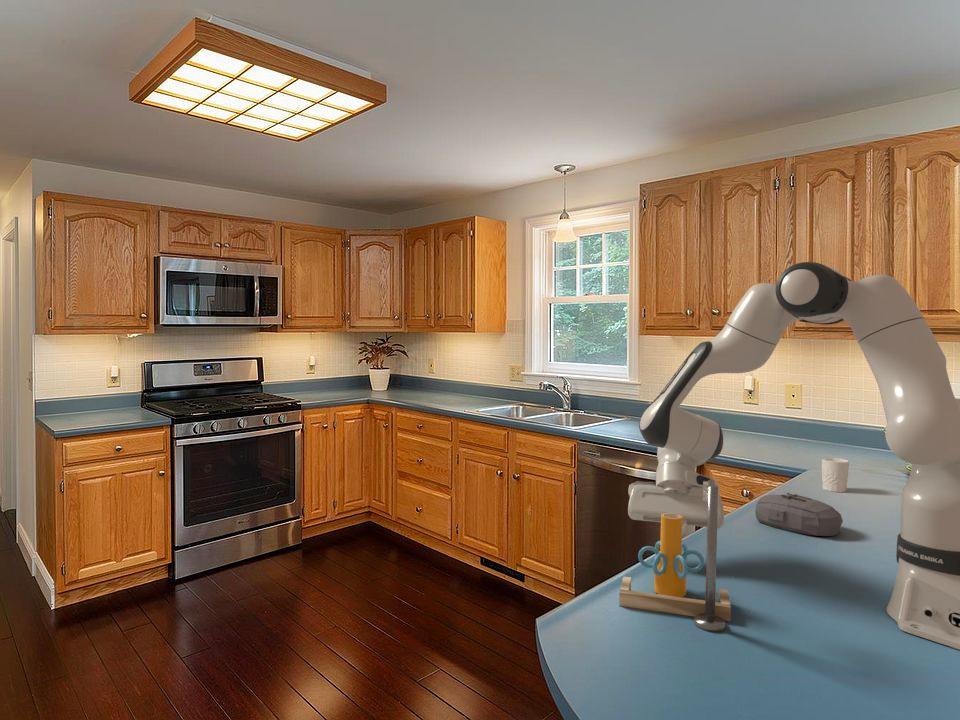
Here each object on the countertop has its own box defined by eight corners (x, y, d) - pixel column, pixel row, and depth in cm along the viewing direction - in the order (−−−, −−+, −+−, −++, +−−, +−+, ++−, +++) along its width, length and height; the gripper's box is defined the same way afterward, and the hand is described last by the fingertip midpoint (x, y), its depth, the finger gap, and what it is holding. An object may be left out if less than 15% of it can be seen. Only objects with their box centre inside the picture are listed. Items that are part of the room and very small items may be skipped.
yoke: (623, 589, 121) (623, 576, 121) (727, 602, 115) (727, 589, 115) (619, 605, 113) (619, 592, 113) (730, 621, 107) (730, 607, 107)
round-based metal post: (693, 603, 115) (696, 475, 114) (722, 607, 113) (725, 477, 112) (694, 629, 104) (698, 488, 104) (726, 633, 103) (730, 491, 102)
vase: (661, 576, 128) (663, 504, 127) (710, 591, 120) (712, 515, 119) (628, 592, 119) (630, 515, 119) (678, 610, 112) (680, 528, 111)
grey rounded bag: (748, 524, 165) (828, 543, 150) (749, 493, 165) (829, 509, 150) (775, 514, 175) (852, 531, 159) (775, 485, 175) (853, 500, 159)
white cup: (848, 489, 205) (849, 459, 204) (847, 494, 198) (848, 463, 198) (821, 485, 209) (822, 456, 209) (819, 490, 202) (820, 460, 202)
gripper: (628, 473, 142) (624, 527, 133) (723, 480, 136) (725, 538, 127) (629, 487, 146) (625, 541, 138) (721, 495, 140) (723, 552, 131)
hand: (674, 540), depth 132 cm, fingers closed
